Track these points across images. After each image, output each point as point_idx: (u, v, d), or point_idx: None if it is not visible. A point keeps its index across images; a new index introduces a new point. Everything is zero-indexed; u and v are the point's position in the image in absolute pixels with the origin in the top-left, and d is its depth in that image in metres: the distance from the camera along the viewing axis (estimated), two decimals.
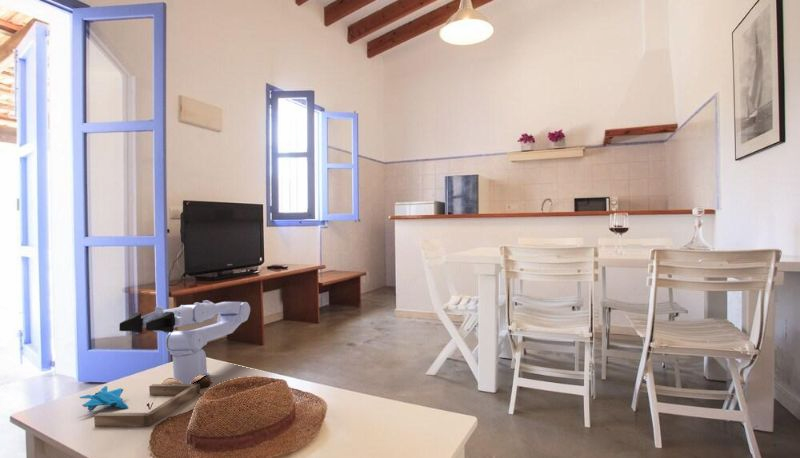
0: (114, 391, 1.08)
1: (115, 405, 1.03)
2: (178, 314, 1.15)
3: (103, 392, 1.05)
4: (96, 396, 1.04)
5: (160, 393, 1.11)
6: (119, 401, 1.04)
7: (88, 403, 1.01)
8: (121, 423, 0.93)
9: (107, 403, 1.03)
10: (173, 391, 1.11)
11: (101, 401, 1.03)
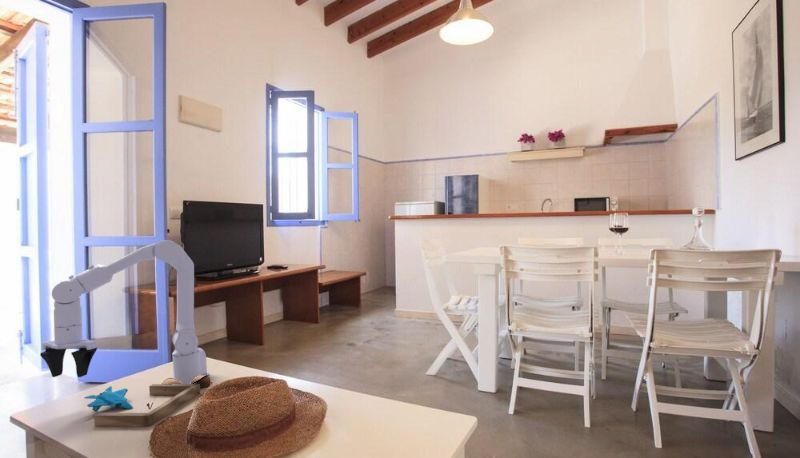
0: (119, 391, 1.08)
1: (120, 405, 1.03)
2: (72, 327, 1.04)
3: (108, 392, 1.05)
4: (101, 396, 1.04)
5: (160, 393, 1.11)
6: (124, 401, 1.04)
7: (92, 403, 1.01)
8: (121, 423, 0.93)
9: (112, 403, 1.03)
10: (173, 391, 1.11)
11: (105, 401, 1.03)
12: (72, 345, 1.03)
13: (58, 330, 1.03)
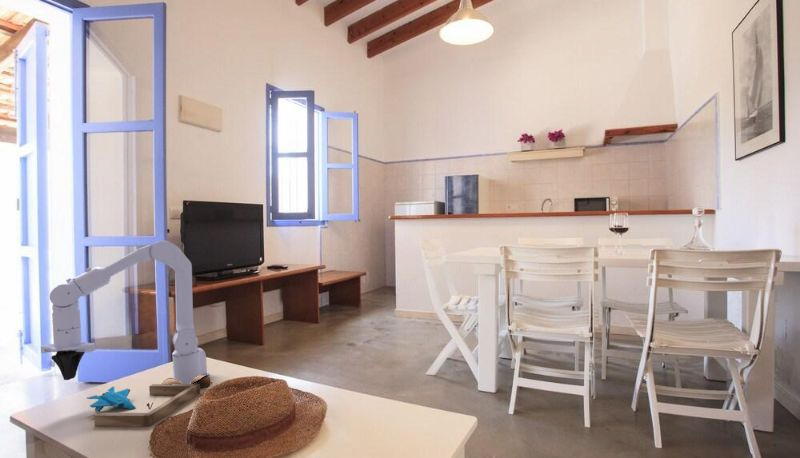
0: (121, 391, 1.08)
1: (122, 406, 1.03)
2: (71, 330, 1.04)
3: (110, 393, 1.05)
4: (103, 397, 1.03)
5: (160, 393, 1.11)
6: (126, 402, 1.03)
7: (95, 403, 1.01)
8: (121, 423, 0.93)
9: (114, 404, 1.02)
10: (173, 391, 1.11)
11: (108, 401, 1.03)
12: (71, 348, 1.03)
13: (57, 333, 1.03)
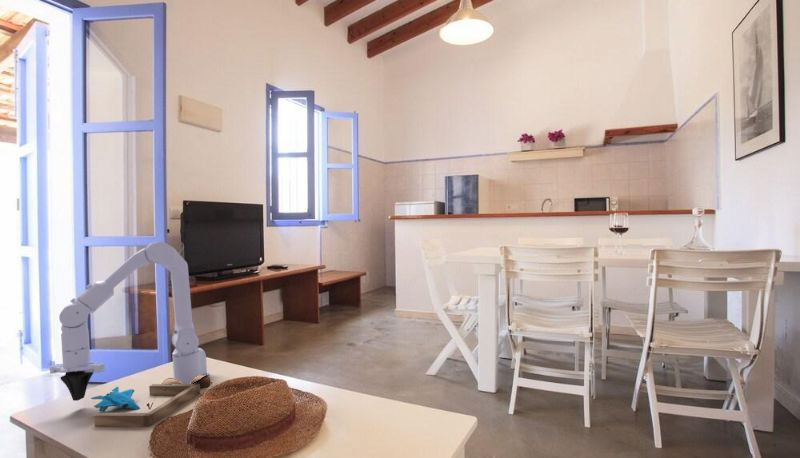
0: (125, 392, 1.08)
1: (127, 406, 1.02)
2: (80, 350, 1.04)
3: (114, 393, 1.05)
4: (107, 397, 1.03)
5: (160, 393, 1.11)
6: (131, 402, 1.03)
7: (99, 404, 1.00)
8: (121, 423, 0.93)
9: (118, 404, 1.02)
10: (173, 391, 1.11)
11: (112, 401, 1.02)
12: (80, 369, 1.03)
13: (66, 354, 1.03)
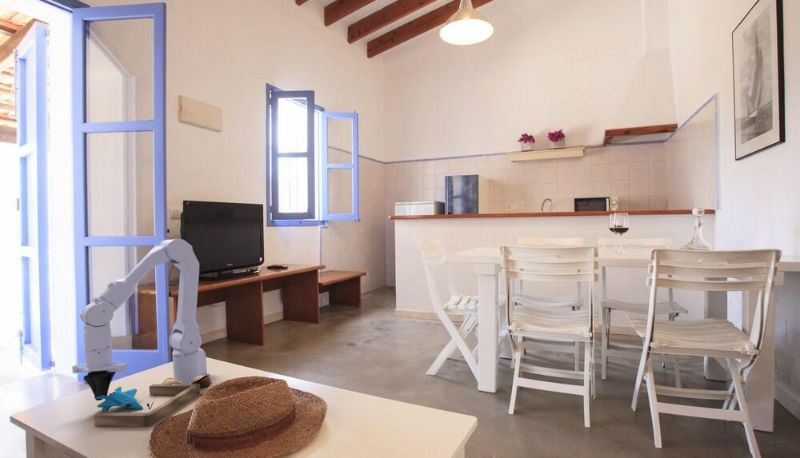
0: (128, 391, 1.07)
1: (130, 406, 1.02)
2: (103, 350, 1.03)
3: (117, 393, 1.04)
4: (110, 397, 1.03)
5: (160, 393, 1.11)
6: (134, 402, 1.03)
7: (102, 404, 1.00)
8: (121, 423, 0.93)
9: (121, 404, 1.02)
10: (173, 391, 1.11)
11: (115, 401, 1.02)
12: (103, 368, 1.02)
13: (89, 354, 1.02)
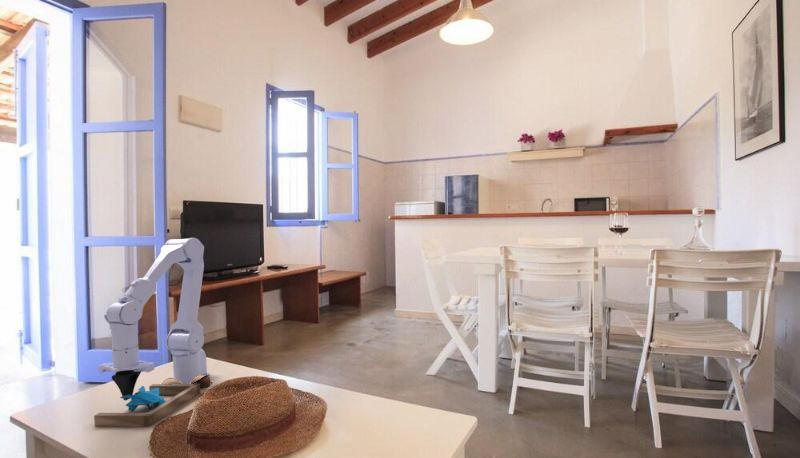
0: (152, 391, 1.07)
1: (158, 404, 1.02)
2: (130, 349, 1.02)
3: (143, 392, 1.03)
4: (137, 396, 1.02)
5: (160, 393, 1.11)
6: (161, 400, 1.03)
7: (130, 403, 0.99)
8: (121, 423, 0.93)
9: (149, 402, 1.01)
10: (173, 391, 1.11)
11: (142, 400, 1.01)
12: (131, 368, 1.01)
13: (117, 353, 1.01)
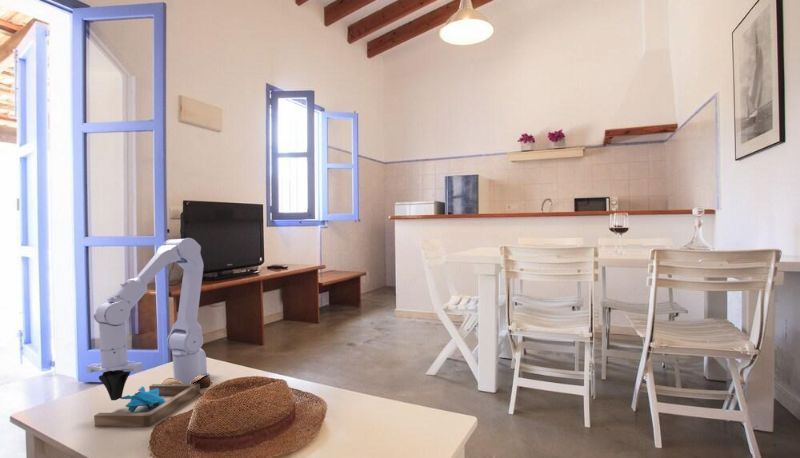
0: (152, 391, 1.07)
1: (158, 405, 1.02)
2: (119, 349, 1.03)
3: (143, 392, 1.03)
4: (137, 396, 1.02)
5: (160, 393, 1.11)
6: (161, 401, 1.03)
7: (130, 403, 0.99)
8: (121, 423, 0.93)
9: (149, 403, 1.01)
10: (173, 391, 1.11)
11: (142, 401, 1.01)
12: (119, 368, 1.02)
13: (105, 353, 1.01)
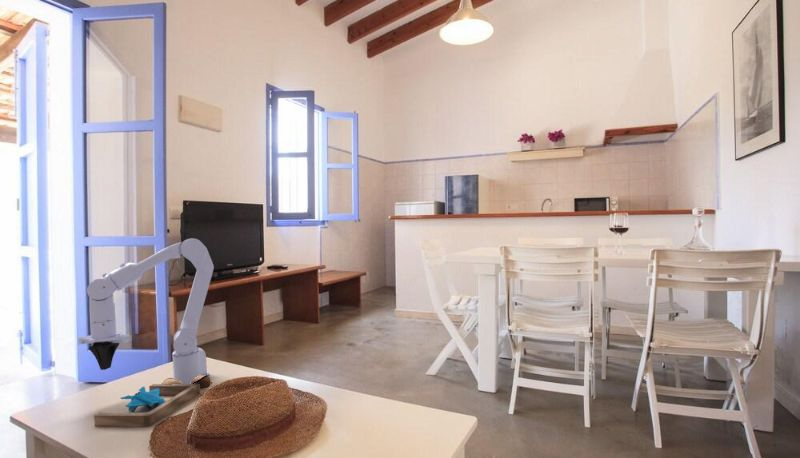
0: (152, 391, 1.07)
1: (158, 405, 1.02)
2: (107, 322, 1.10)
3: (143, 392, 1.04)
4: (137, 396, 1.02)
5: (160, 393, 1.11)
6: (161, 401, 1.03)
7: (130, 403, 0.99)
8: (121, 423, 0.93)
9: (149, 403, 1.01)
10: (173, 391, 1.11)
11: (143, 401, 1.02)
12: (108, 339, 1.09)
13: (94, 325, 1.08)
